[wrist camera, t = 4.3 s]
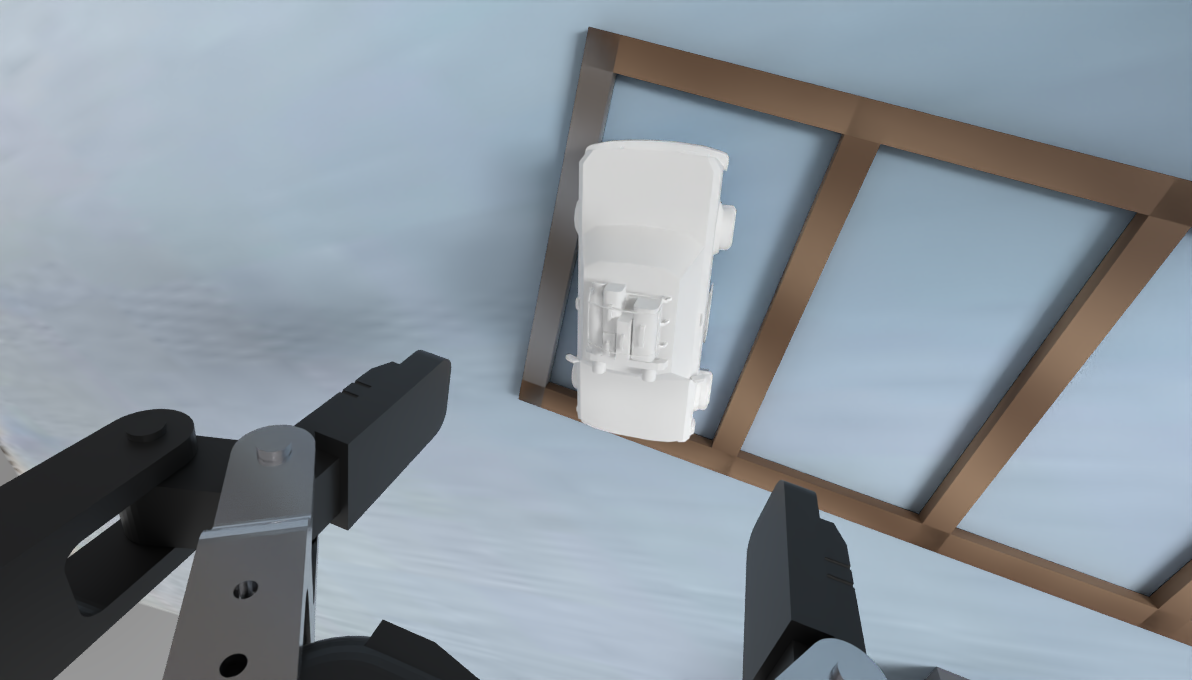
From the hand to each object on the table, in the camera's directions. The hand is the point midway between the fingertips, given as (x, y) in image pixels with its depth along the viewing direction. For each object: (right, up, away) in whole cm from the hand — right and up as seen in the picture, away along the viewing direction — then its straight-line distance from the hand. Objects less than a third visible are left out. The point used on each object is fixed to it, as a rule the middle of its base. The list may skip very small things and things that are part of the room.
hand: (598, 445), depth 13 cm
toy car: (+2, +5, +11) cm, 12 cm away
